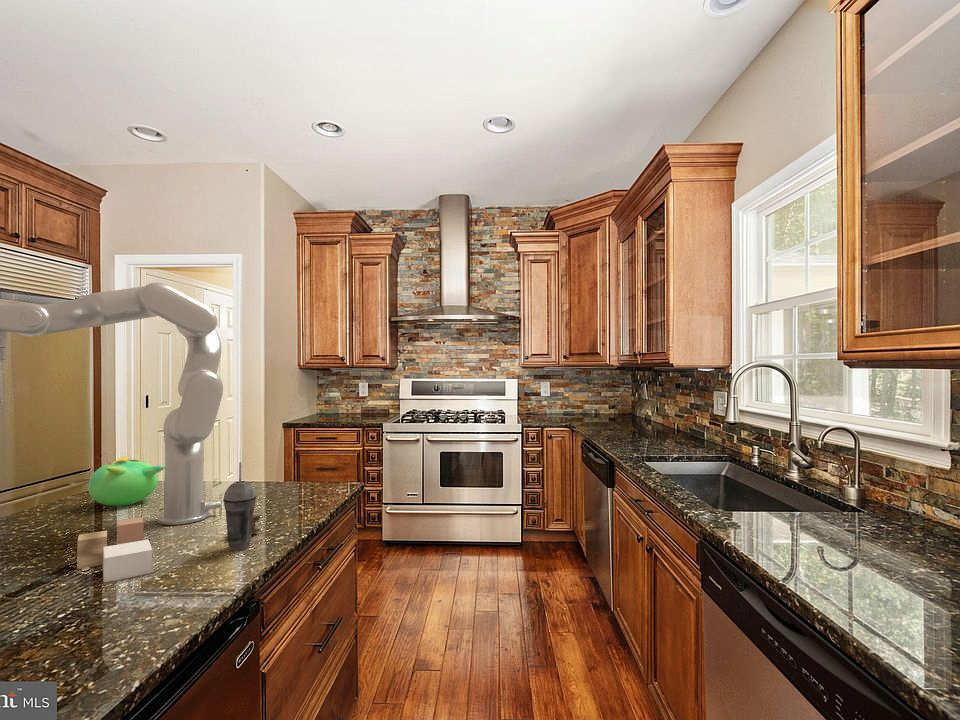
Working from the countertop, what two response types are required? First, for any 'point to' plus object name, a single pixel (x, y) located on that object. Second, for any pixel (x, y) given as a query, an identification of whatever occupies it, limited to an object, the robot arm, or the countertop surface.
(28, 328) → the robot arm
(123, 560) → the white block
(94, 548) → the oak block
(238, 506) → the beverage cup
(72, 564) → the countertop surface
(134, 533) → the terracotta block
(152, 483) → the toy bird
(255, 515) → the mushroom
